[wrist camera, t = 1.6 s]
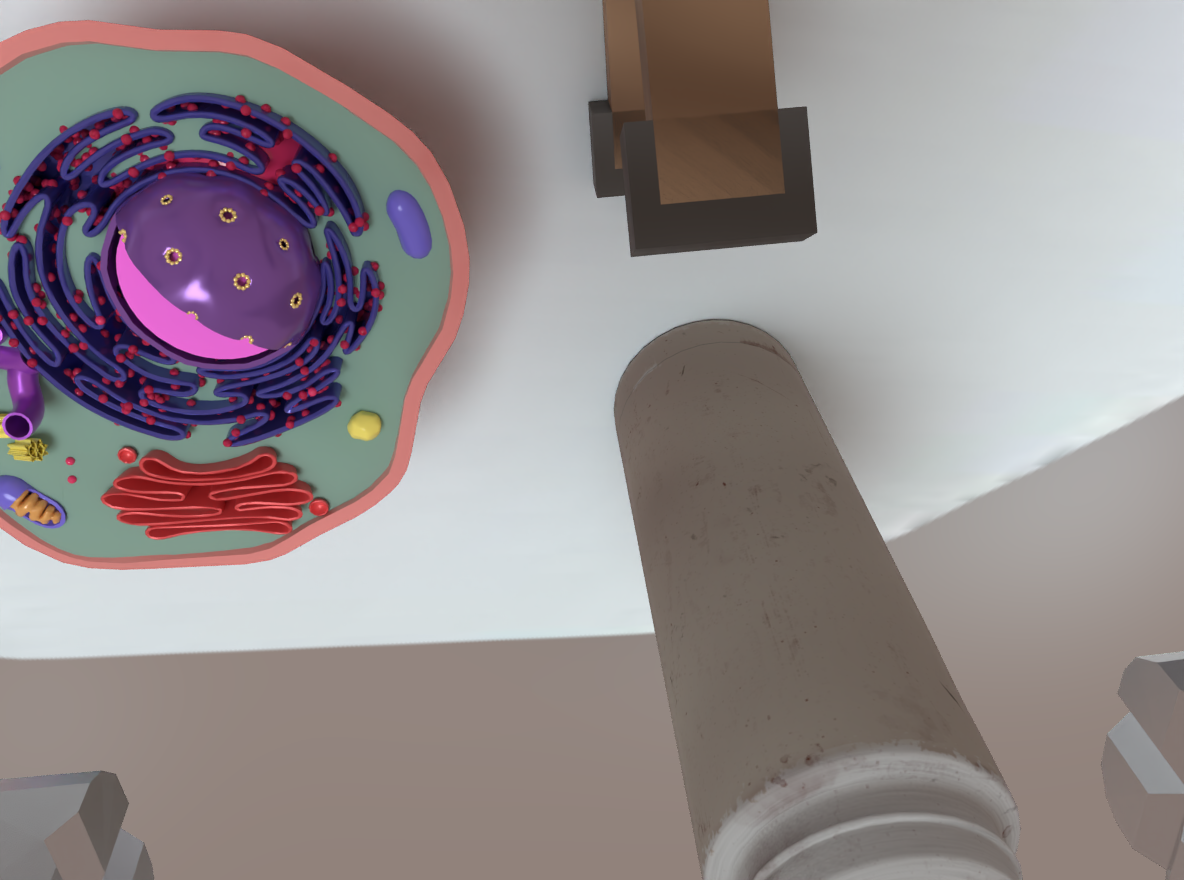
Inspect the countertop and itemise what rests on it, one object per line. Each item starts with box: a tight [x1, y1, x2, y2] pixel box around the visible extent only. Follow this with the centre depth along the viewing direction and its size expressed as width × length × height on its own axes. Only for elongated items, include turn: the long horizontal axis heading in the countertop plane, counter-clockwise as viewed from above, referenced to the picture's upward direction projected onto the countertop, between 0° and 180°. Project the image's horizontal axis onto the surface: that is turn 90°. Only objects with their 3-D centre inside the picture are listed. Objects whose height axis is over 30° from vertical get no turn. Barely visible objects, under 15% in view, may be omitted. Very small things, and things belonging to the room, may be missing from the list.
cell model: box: [0, 20, 469, 570], centre depth 35 cm, size 17×20×11 cm
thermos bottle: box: [614, 320, 1023, 880], centre depth 34 cm, size 8×8×28 cm
